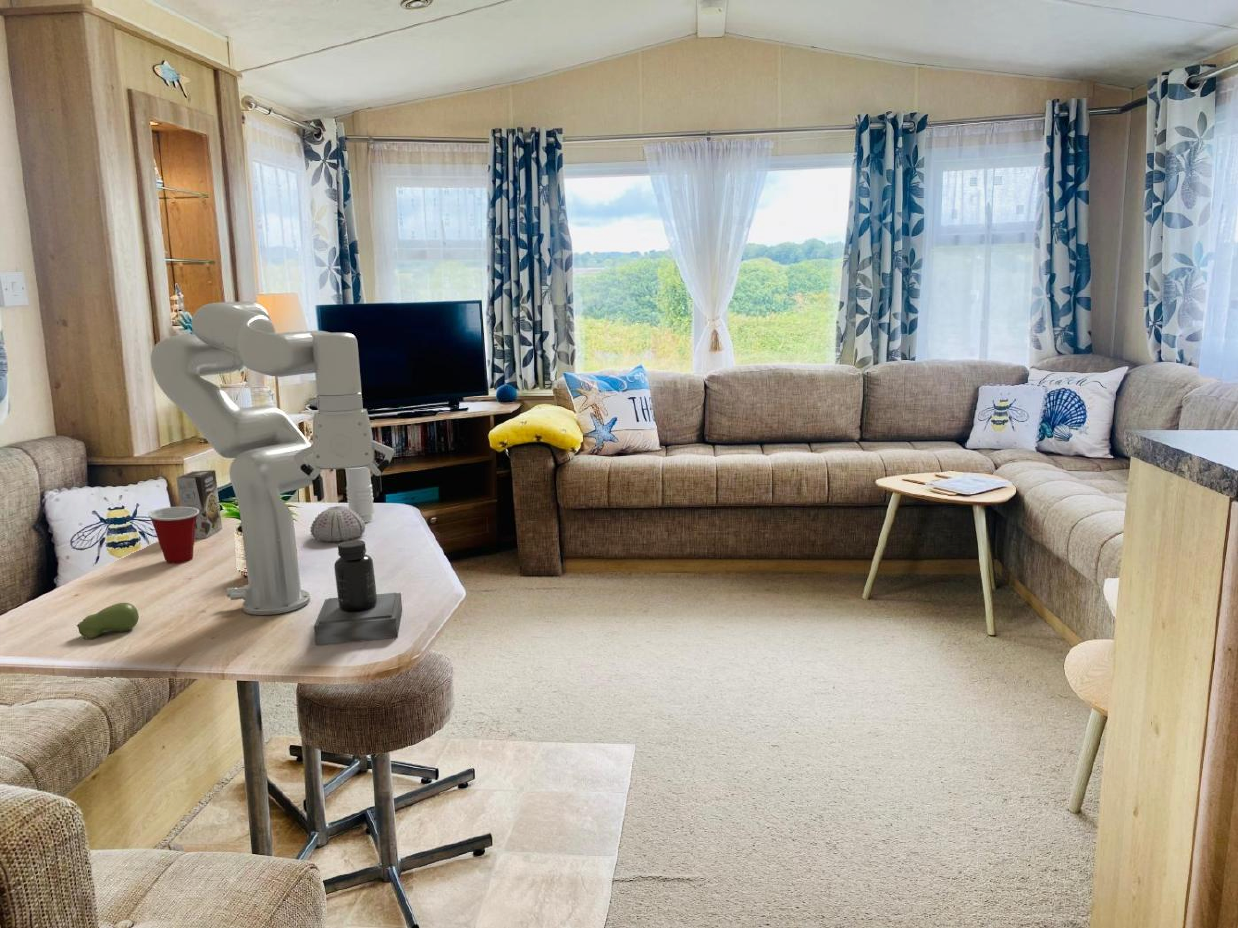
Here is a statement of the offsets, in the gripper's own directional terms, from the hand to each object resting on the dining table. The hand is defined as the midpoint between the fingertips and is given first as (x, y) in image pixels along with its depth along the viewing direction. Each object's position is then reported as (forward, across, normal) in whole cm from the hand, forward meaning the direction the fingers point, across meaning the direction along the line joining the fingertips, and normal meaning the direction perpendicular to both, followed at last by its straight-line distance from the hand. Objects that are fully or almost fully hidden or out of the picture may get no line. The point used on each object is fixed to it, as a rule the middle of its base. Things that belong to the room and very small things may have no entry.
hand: (348, 497), depth 164 cm
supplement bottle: (+20, 0, -1) cm, 21 cm away
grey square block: (+24, 0, -1) cm, 24 cm away
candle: (+25, -8, +81) cm, 85 cm away
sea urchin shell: (+25, -12, +65) cm, 71 cm away
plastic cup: (+25, -47, +54) cm, 76 cm away
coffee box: (+25, -48, +78) cm, 96 cm away
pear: (+25, -46, +8) cm, 53 cm away
